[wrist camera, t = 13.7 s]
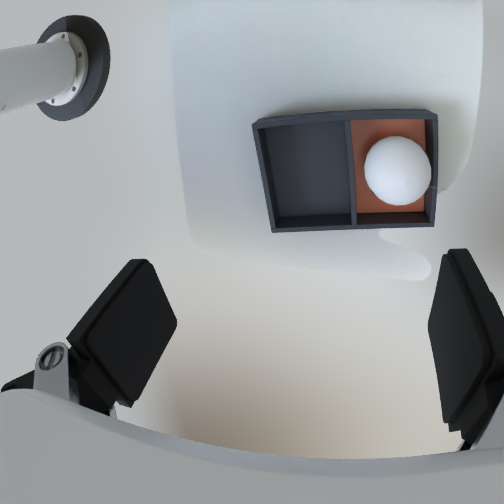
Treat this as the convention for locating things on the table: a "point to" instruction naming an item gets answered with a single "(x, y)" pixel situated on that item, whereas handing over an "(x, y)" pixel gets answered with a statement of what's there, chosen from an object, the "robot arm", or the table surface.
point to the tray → (339, 169)
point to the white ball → (397, 170)
